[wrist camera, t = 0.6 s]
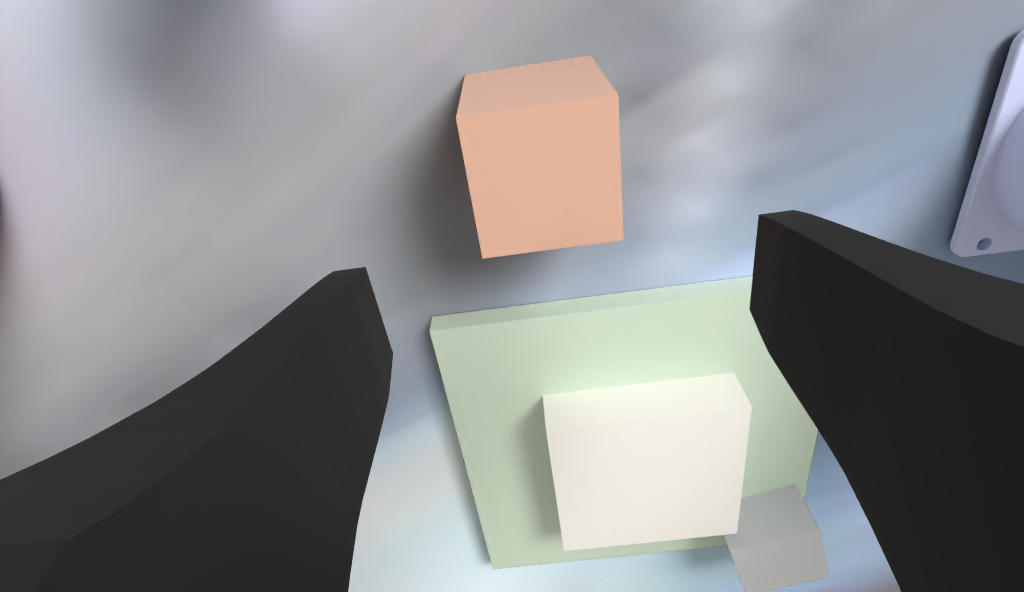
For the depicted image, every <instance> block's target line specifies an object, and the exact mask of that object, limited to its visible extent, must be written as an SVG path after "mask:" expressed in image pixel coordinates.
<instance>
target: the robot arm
mask: <svg viewBox="0 0 1024 592" xmlns="http://www.w3.org/2000/svg"><path fill="white" fill-rule="evenodd" d="M982 239H984V240H983V241H982V242H981V243H980V244H978V243H979V241H981V240H982ZM977 244H978V245H977ZM950 249H951V251H952V252H954V253H955V254H957V255H958V256H960V257H970V256H978V255H986V254H994V253H1002V252H1010V251H1018V250H1024V30H1022V31H1021V32H1020V33H1019V34H1018V35H1017V36H1016V37H1015V38H1014V40H1013V42H1012V44H1011V46H1010V50H1009V53H1008V56H1007V59H1006V63H1005V66H1004V69H1003V72H1002V76H1001V79H1000V82H999V86H998V89H997V92H996V95H995V99H994V102H993V105H992V109H991V112H990V115H989V118H988V122H987V125H986V128H985V131H984V135H983V138H982V141H981V145H980V148H979V151H978V154H977V158H976V161H975V164H974V168H973V171H972V174H971V177H970V181H969V184H968V187H967V190H966V194H965V197H964V200H963V204H962V207H961V210H960V213H959V217H958V220H957V223H956V226H955V230H954V233H953V236H952V240H951V243H950ZM749 310H750V312H751V314H752V317H753V319H754V321H755V324H756V326H757V329H758V331H759V333H760V335H761V338H762V340H763V342H764V344H765V346H766V348H767V350H768V353H769V354H770V356H771V357H772V359H773V361H774V362H775V364H776V366H777V367H778V369H779V370H780V372H781V373H782V375H783V377H784V378H785V380H786V381H787V383H788V384H789V386H790V388H791V389H792V391H793V392H794V394H795V395H796V397H797V398H798V400H799V401H800V403H801V404H802V406H803V407H804V409H805V411H806V412H807V414H808V415H809V417H810V418H811V420H812V421H813V423H814V424H815V426H816V427H817V429H818V430H819V432H820V434H821V435H822V437H823V438H824V440H825V441H826V443H827V444H828V446H829V447H830V449H831V451H832V452H833V454H834V456H835V457H836V459H837V461H838V463H839V464H840V466H841V468H842V469H843V471H844V473H845V475H846V477H847V479H848V481H849V483H850V485H851V487H852V489H853V491H854V493H855V495H856V497H857V499H858V501H859V503H860V505H861V507H862V509H863V511H864V513H865V515H866V517H867V519H868V521H869V523H870V525H871V527H872V529H873V531H874V533H875V535H876V538H877V540H878V542H879V544H880V546H881V548H882V550H883V553H884V555H885V557H886V559H887V561H888V563H889V565H890V568H891V570H892V572H893V574H894V576H895V578H896V580H897V583H898V585H899V587H900V590H901V592H1024V284H1021V283H1017V282H1013V281H1009V280H1005V279H1001V278H998V277H994V276H991V275H987V274H984V273H980V272H977V271H973V270H970V269H967V268H964V267H961V266H957V265H954V264H951V263H948V262H945V261H942V260H938V259H935V258H932V257H929V256H926V255H923V254H920V253H917V252H915V251H912V250H909V249H906V248H903V247H900V246H897V245H895V244H892V243H889V242H886V241H884V240H881V239H878V238H876V237H873V236H870V235H867V234H865V233H862V232H859V231H857V230H854V229H851V228H849V227H846V226H843V225H840V224H838V223H835V222H832V221H829V220H826V219H824V218H821V217H818V216H814V215H811V214H808V213H804V212H800V211H796V210H791V211H783V212H776V213H768V214H761V215H759V218H758V228H757V238H756V248H755V258H754V268H753V278H752V288H751V297H750V307H749ZM392 359H393V352H392V349H391V346H390V343H389V339H388V336H387V333H386V330H385V327H384V324H383V321H382V317H381V314H380V311H379V308H378V305H377V302H376V298H375V295H374V292H373V289H372V286H371V283H370V280H369V276H368V273H367V270H366V267H362V268H355V269H347V270H340V271H334V272H332V273H330V274H329V275H327V276H326V277H324V278H323V279H321V280H320V281H319V282H317V283H316V284H315V285H314V286H312V287H311V288H310V289H309V290H307V291H306V292H305V293H304V294H302V295H301V296H300V297H299V298H298V299H296V300H295V301H294V302H293V303H292V304H290V305H289V306H288V307H287V308H285V309H284V310H283V311H282V312H281V313H279V314H278V315H277V316H276V317H274V318H273V319H272V320H271V321H270V322H268V323H267V324H266V325H265V326H263V327H262V328H261V329H260V330H258V331H257V332H256V333H254V334H253V335H252V336H250V337H249V338H248V339H246V340H245V341H244V342H242V343H241V344H240V345H238V346H237V347H236V348H235V349H233V350H232V351H231V352H229V353H228V354H227V355H225V356H224V357H223V358H221V359H220V360H219V361H217V362H216V363H214V364H213V365H212V366H210V367H209V368H207V369H206V370H204V371H203V372H201V373H200V374H198V375H197V376H195V377H194V378H192V379H191V380H189V381H188V382H186V383H185V384H183V385H181V386H180V387H178V388H177V389H175V390H173V391H172V392H170V393H169V394H167V395H166V396H164V397H162V398H161V399H159V400H157V401H156V402H154V403H152V404H151V405H149V406H147V407H145V408H143V409H142V410H140V411H138V412H136V413H134V414H132V415H131V416H129V417H127V418H125V419H123V420H121V421H120V422H118V423H116V424H114V425H112V426H110V427H109V428H107V429H105V430H103V431H101V432H99V433H98V434H96V435H94V436H92V437H90V438H88V439H86V440H84V441H82V442H80V443H78V444H76V445H74V446H72V447H70V448H68V449H66V450H64V451H62V452H60V453H58V454H56V455H54V456H52V457H49V458H47V459H45V460H43V461H41V462H39V463H37V464H34V465H32V466H30V467H28V468H25V469H23V470H21V471H19V472H17V473H14V474H12V475H10V476H8V477H6V478H3V479H1V480H0V592H348V588H349V580H350V572H351V565H352V558H353V551H354V544H355V537H356V530H357V524H358V519H359V514H360V510H361V505H362V500H363V496H364V493H365V489H366V485H367V481H368V477H369V473H370V469H371V466H372V462H373V458H374V454H375V450H376V446H377V442H378V439H379V435H380V431H381V427H382V423H383V419H384V415H385V411H386V406H387V402H388V398H389V389H390V381H391V370H392Z"/></svg>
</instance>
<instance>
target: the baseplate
mask: <svg viewBox="0 0 1024 592" xmlns="http://www.w3.org/2000/svg"><path fill="white" fill-rule="evenodd" d="M752 278H753V276H749V277H741V278H733V279H725V280H717V281H709V282H701V283H693V284H686V285H678V286H670V287H662V288H654V289H646V290H638V291H630V292H623V293H615V294H607V295H599V296H591V297H583V298H575V299H567V300H559V301H552V302H544V303H536V304H528V305H520V306H512V307H504V308H496V309H489V310H481V311H473V312H465V313H457V314H449V315H441V316H433V317H432V319H431V325H430V335H431V339H432V342H433V346H434V350H435V354H436V357H437V361H438V365H439V369H440V372H441V376H442V380H443V384H444V387H445V391H446V395H447V399H448V402H449V406H450V410H451V414H452V417H453V421H454V425H455V429H456V432H457V436H458V440H459V444H460V447H461V451H462V455H463V459H464V462H465V466H466V470H467V474H468V477H469V481H470V485H471V489H472V492H473V496H474V500H475V504H476V507H477V511H478V515H479V519H480V522H481V526H482V530H483V534H484V537H485V541H486V545H487V549H488V552H489V556H490V560H491V564H492V567H493V569H501V568H511V567H520V566H530V565H540V564H550V563H560V562H570V561H580V560H589V559H599V558H609V557H619V556H629V555H639V554H649V553H658V552H668V551H678V550H688V549H698V548H708V547H718V546H727V543H726V541H725V538H724V535H717V536H707V537H697V538H688V539H678V540H668V541H658V542H649V543H639V544H629V545H619V546H610V547H600V548H590V549H580V550H571V551H564V548H563V541H562V534H561V528H560V521H559V514H558V508H557V501H556V494H555V487H554V481H553V474H552V467H551V460H550V454H549V447H548V440H547V434H546V425H545V415H544V404H543V395H549V394H558V393H566V392H575V391H583V390H592V389H600V388H609V387H617V386H626V385H634V384H643V383H651V382H660V381H668V380H677V379H685V378H694V377H702V376H711V375H719V374H728V373H734V374H735V375H736V377H737V379H738V381H739V383H740V385H741V387H742V389H743V391H744V393H745V394H746V396H747V398H748V400H749V402H750V404H751V406H752V410H751V418H750V427H749V435H748V444H747V452H746V461H745V470H744V478H743V487H742V495H741V498H744V497H748V496H751V495H755V494H759V493H762V492H766V491H770V490H773V489H777V488H781V487H785V486H788V485H792V484H795V485H796V487H797V488H798V490H799V492H800V494H801V496H802V498H803V500H804V496H805V491H806V487H807V482H808V477H809V472H810V467H811V462H812V458H813V453H814V448H815V443H816V438H817V433H818V429H817V427H816V426H815V424H814V423H813V421H812V420H811V418H810V417H809V415H808V414H807V412H806V411H805V409H804V407H803V406H802V404H801V403H800V401H799V400H798V398H797V397H796V395H795V394H794V392H793V391H792V389H791V388H790V386H789V384H788V383H787V381H786V380H785V378H784V377H783V375H782V373H781V372H780V370H779V369H778V367H777V366H776V364H775V362H774V361H773V359H772V357H771V356H770V354H769V353H768V350H767V348H766V346H765V344H764V342H763V340H762V338H761V335H760V333H759V331H758V329H757V326H756V324H755V321H754V319H753V317H752V314H751V312H750V310H749V307H750V297H751V288H752Z"/></svg>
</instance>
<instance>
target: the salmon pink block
mask: <svg viewBox="0 0 1024 592" xmlns="http://www.w3.org/2000/svg"><path fill="white" fill-rule="evenodd" d="M456 122H457V127H458V132H459V137H460V143H461V148H462V153H463V159H464V164H465V169H466V174H467V180H468V185H469V190H470V195H471V201H472V206H473V211H474V217H475V222H476V227H477V232H478V238H479V243H480V248H481V253H482V259H484V258H492V257H499V256H507V255H514V254H522V253H530V252H537V251H545V250H552V249H560V248H567V247H575V246H582V245H590V244H597V243H605V242H613V241H620V240H624V237H623V211H622V184H621V158H620V131H619V104H618V94H617V92H616V91H615V89H614V88H613V87H612V85H611V84H610V82H609V81H608V80H607V78H606V77H605V75H604V74H603V73H602V71H601V70H600V68H599V67H598V66H597V64H596V63H595V61H594V60H593V59H592V57H591V56H583V57H577V58H570V59H563V60H557V61H550V62H544V63H537V64H530V65H524V66H517V67H510V68H504V69H497V70H490V71H484V72H477V73H470V74H465V77H464V82H463V86H462V91H461V96H460V101H459V106H458V110H457V115H456Z"/></svg>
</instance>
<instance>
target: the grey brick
mask: <svg viewBox="0 0 1024 592" xmlns="http://www.w3.org/2000/svg"><path fill="white" fill-rule="evenodd" d="M724 538H725V541H726V543H727V546H728V549H729V552H730V554H731V557H732V560H733V562H734V565H735V568H736V570H737V573H738V576H739V578H740V581H741V584H742V587H743V589H744V592H767V591H771V590H775V589H779V588H784V587H788V586H792V585H796V584H800V583H805V582H809V581H813V580H817V579H821V578H826V577H829V572H828V568H827V563H826V558H825V554H824V549H823V544H822V540H821V535H820V530H819V528H818V526H817V524H816V522H815V520H814V518H813V517H812V515H811V513H810V511H809V509H808V507H807V505H806V503H805V502H804V500H803V498H802V496H801V494H800V492H799V490H798V488H797V487H796V485H795V484H792V485H788V486H785V487H781V488H777V489H773V490H770V491H766V492H762V493H759V494H755V495H751V496H748V497H744V498H741V504H740V512H739V521H738V530H737V533H736V534H727V535H724Z"/></svg>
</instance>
